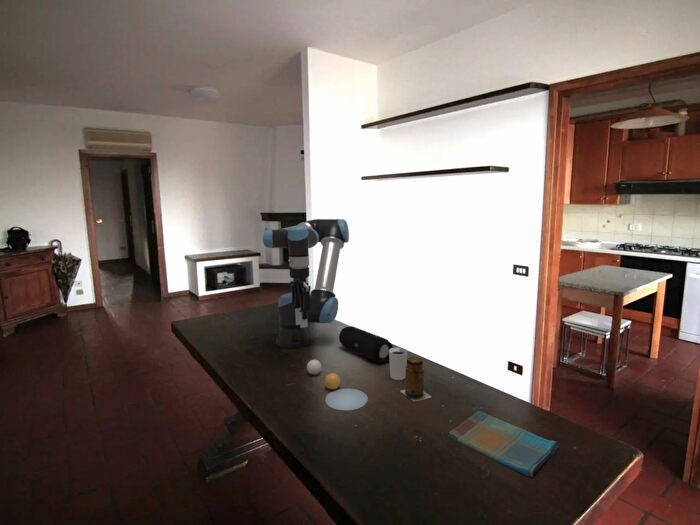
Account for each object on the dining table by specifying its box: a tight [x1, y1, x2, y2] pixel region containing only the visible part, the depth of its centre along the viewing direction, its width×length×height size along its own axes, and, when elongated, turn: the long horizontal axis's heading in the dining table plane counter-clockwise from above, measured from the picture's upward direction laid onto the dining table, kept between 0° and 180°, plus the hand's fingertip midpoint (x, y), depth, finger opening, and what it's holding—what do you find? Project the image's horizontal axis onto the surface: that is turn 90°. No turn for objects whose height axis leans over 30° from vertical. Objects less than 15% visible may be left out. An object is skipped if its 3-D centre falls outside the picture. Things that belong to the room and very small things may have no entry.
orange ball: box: [324, 372, 342, 390], centre depth 137 cm, size 6×6×6 cm
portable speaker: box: [338, 325, 394, 363], centre depth 166 cm, size 26×10×10 cm, turn 39°
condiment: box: [399, 356, 432, 403], centre depth 131 cm, size 7×8×12 cm
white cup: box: [388, 346, 408, 381], centre depth 145 cm, size 7×7×10 cm
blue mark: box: [325, 388, 369, 412], centre depth 130 cm, size 14×14×1 cm
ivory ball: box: [306, 359, 322, 376], centre depth 148 cm, size 6×6×6 cm
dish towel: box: [447, 410, 560, 478], centre depth 106 cm, size 17×23×2 cm
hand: (301, 325), depth 154 cm, fingers open, 3 cm apart
